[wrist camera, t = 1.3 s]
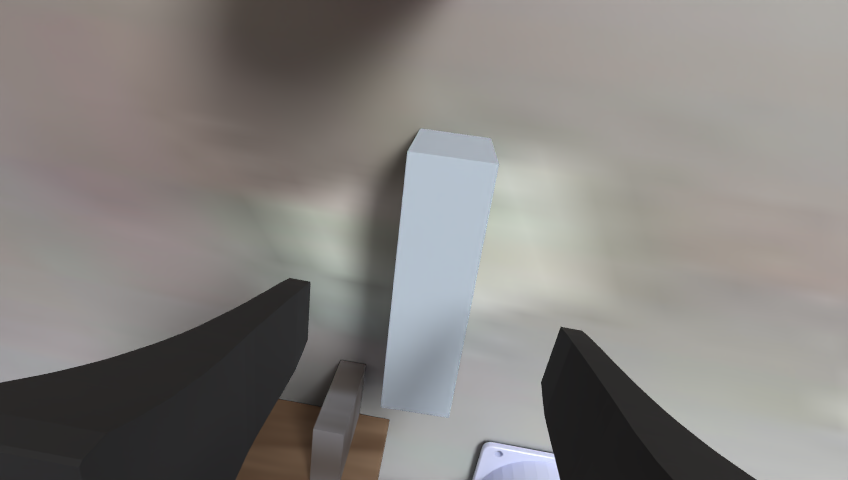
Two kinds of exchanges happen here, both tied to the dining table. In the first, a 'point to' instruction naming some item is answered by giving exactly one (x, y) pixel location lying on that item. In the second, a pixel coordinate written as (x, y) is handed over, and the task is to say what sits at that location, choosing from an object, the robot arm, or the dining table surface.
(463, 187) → the rail
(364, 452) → the wood plank with uprights
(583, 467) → the robot arm
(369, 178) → the dining table surface
